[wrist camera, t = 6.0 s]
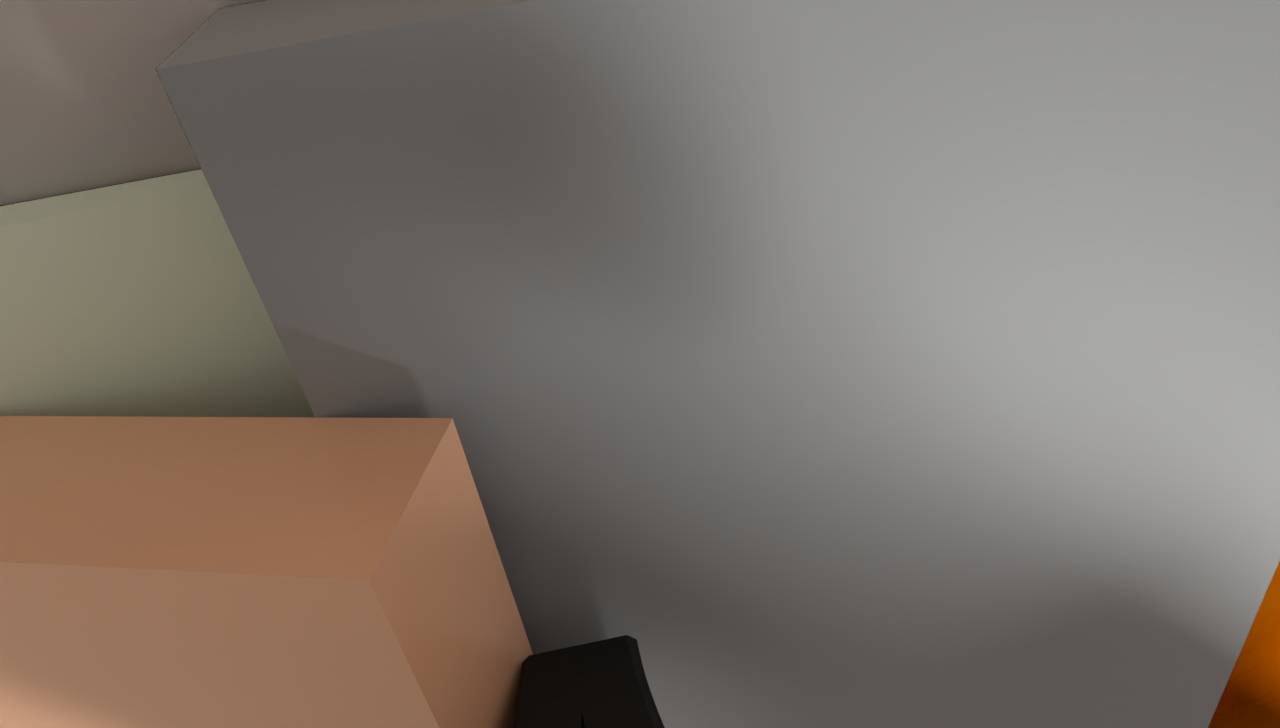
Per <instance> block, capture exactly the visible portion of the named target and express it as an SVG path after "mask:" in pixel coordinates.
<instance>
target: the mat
mask: <svg viewBox="0 0 1280 728" xmlns="http://www.w3.org/2000/svg"><path fill="white" fill-rule="evenodd" d="M0 416H117V417H315V416H314V413H313V411H312V409H311V407H310V405H309V403H308V400H307V398H306V396H305V394H304V392H303V389H302V387H301V385H300V383H299V381H298V379H297V376H296V374H295V372H294V370H293V368H292V365H291V363H290V361H289V359H288V357H287V355H286V352H285V350H284V348H283V346H282V344H281V342H280V339H279V337H278V335H277V333H276V331H275V328H274V326H273V324H272V322H271V320H270V318H269V315H268V313H267V311H266V309H265V307H264V304H263V302H262V300H261V298H260V296H259V294H258V291H257V289H256V287H255V285H254V283H253V281H252V278H251V276H250V274H249V272H248V270H247V267H246V265H245V263H244V261H243V259H242V257H241V254H240V252H239V250H238V248H237V246H236V243H235V241H234V239H233V237H232V235H231V233H230V230H229V228H228V226H227V224H226V222H225V220H224V217H223V215H222V213H221V211H220V209H219V206H218V204H217V202H216V200H215V198H214V196H213V193H212V191H211V189H210V187H209V185H208V182H207V180H206V178H205V176H204V174H203V172H202V169H199V170H194V171H189V172H183V173H178V174H172V175H167V176H162V177H156V178H151V179H146V180H140V181H135V182H129V183H124V184H119V185H113V186H108V187H102V188H97V189H92V190H86V191H81V192H75V193H70V194H65V195H59V196H54V197H49V198H43V199H38V200H32V201H27V202H22V203H16V204H11V205H5V206H0Z"/></svg>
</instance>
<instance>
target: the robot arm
mask: <svg viewBox="0 0 1280 728" xmlns="http://www.w3.org/2000/svg"><path fill="white" fill-rule="evenodd" d="M513 728H665V727H664V725H663V722H662V720H661V717H660V715H659V712H658V710H657V707H656V705H655V702H654V699H653V696H652V694H651V691H650V688H649V685H648V682H647V679H646V675H645V672H644V668H643V665H642V660H641V656H640V651H639V647H638V642H637V639H635V638H632V637H630V636H628V635H624V636H620V637H615V638H610V639H605V640H600V641H596V642H591V643H586V644H581V645H577V646H572V647H567V648H562V649H557V650H553V651H548V652H543V653H538V654H533V655H529V656H528V657H527V658H526V659H525V660H524V661H523V662H522V667H521V676H520V685H519V693H518V699H517V706H516V712H515V718H514V723H513Z"/></svg>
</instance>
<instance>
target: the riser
mask: <svg viewBox="0 0 1280 728" xmlns="http://www.w3.org/2000/svg"><path fill="white" fill-rule="evenodd" d="M156 71H157V74H158V76H159V78H160V80H161V82H162V84H163V87H164V89H165V91H166V93H167V95H168V98H169V100H170V102H171V104H172V106H173V108H174V111H175V113H176V115H177V117H178V119H179V121H180V124H181V126H182V128H183V130H184V132H185V135H186V137H187V139H188V141H189V143H190V145H191V148H192V150H193V152H194V154H195V156H196V159H197V161H198V163H199V165H200V167H201V169H202V172H203V174H204V176H205V178H206V180H207V182H208V185H209V187H210V189H211V191H212V193H213V196H214V198H215V200H216V202H217V204H218V206H219V209H220V211H221V213H222V215H223V217H224V220H225V222H226V224H227V226H228V228H229V230H230V233H231V235H232V237H233V239H234V241H235V243H236V246H237V248H238V250H239V252H240V254H241V257H242V259H243V261H244V263H245V265H246V267H247V270H248V272H249V274H250V276H251V278H252V281H253V283H254V285H255V287H256V289H257V291H258V294H259V296H260V298H261V300H262V302H263V304H264V307H265V309H266V311H267V313H268V315H269V318H270V320H271V322H272V324H273V326H274V328H275V331H276V333H277V335H278V337H279V339H280V342H281V344H282V346H283V348H284V350H285V352H286V355H287V357H288V359H289V361H290V363H291V365H292V368H293V370H294V372H295V374H296V376H297V379H298V381H299V383H300V385H301V387H302V389H303V392H304V394H305V396H306V398H307V400H308V403H309V405H310V407H311V409H312V411H313V413H314V416H315V418H317V417H330V418H453V421H454V424H455V427H456V430H457V433H458V436H459V439H460V441H461V444H462V447H463V450H464V453H465V456H466V459H467V462H468V465H469V468H470V471H471V474H472V477H473V480H474V483H475V486H476V488H477V491H478V494H479V497H480V500H481V503H482V506H483V509H484V512H485V515H486V518H487V521H488V524H489V527H490V530H491V532H492V535H493V538H494V541H495V544H496V547H497V550H498V553H499V556H500V559H501V562H502V565H503V568H504V571H505V574H506V577H507V579H508V582H509V585H510V588H511V591H512V594H513V597H514V600H515V603H516V606H517V609H518V612H519V615H520V618H521V621H522V623H523V626H524V629H525V632H526V635H527V638H528V641H529V644H530V647H531V650H532V653H533V654H538V653H543V652H548V651H553V650H557V649H562V648H567V647H572V646H577V645H581V644H586V643H591V642H596V641H600V640H605V639H610V638H615V637H620V636H624V635H628V636H630V637H632V638H635V639H637V642H638V647H639V651H640V656H641V660H642V665H643V668H644V672H645V675H646V679H647V682H648V685H649V688H650V691H651V694H652V696H653V699H654V702H655V705H656V707H657V710H658V712H659V715H660V717H661V720H662V722H663V725H664V727H665V728H1208V726H1209V724H1210V721H1211V719H1212V717H1213V714H1214V712H1215V710H1216V707H1217V705H1218V703H1219V700H1220V698H1221V696H1222V694H1223V691H1224V689H1225V687H1226V684H1227V682H1228V680H1229V677H1230V675H1231V673H1232V670H1233V668H1234V666H1235V663H1236V661H1237V659H1238V656H1239V654H1240V652H1241V649H1242V647H1243V645H1244V642H1245V640H1246V638H1247V635H1248V633H1249V631H1250V628H1251V626H1252V624H1253V621H1254V619H1255V617H1256V614H1257V612H1258V610H1259V607H1260V605H1261V603H1262V600H1263V598H1264V596H1265V593H1266V591H1267V589H1268V586H1269V584H1270V582H1271V579H1272V577H1273V575H1274V572H1275V570H1276V568H1277V565H1278V563H1279V561H1280V0H264V1H259V2H253V3H248V4H242V5H236V6H231V7H225V8H220V9H218V10H217V11H216V12H215V13H214V14H213V15H212V16H211V17H210V18H209V19H208V20H207V21H206V22H204V23H203V24H202V25H201V26H200V27H199V28H198V29H197V30H196V31H195V32H194V33H193V34H192V35H191V36H190V37H189V38H188V39H187V40H186V41H185V42H184V43H182V44H181V45H180V46H179V47H178V48H177V49H176V50H175V51H174V52H173V53H172V54H171V55H170V56H169V57H168V58H167V59H166V60H165V61H164V62H163V63H161V64H160V65H159V66H158V67H157V68H156Z"/></svg>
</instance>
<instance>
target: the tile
mask: <svg viewBox="0 0 1280 728" xmlns="http://www.w3.org/2000/svg"><path fill="white" fill-rule="evenodd" d="M529 655H533V653H532V650H531V647H530V644H529V641H528V638H527V635H526V632H525V629H524V626H523V623H522V621H521V618H520V615H519V612H518V609H517V606H516V603H515V600H514V597H513V594H512V591H511V588H510V585H509V582H508V579H507V577H506V574H505V571H504V568H503V565H502V562H501V559H500V556H499V553H498V550H497V547H496V544H495V541H494V538H493V535H492V532H491V530H490V527H489V524H488V521H487V518H486V515H485V512H484V509H483V506H482V503H481V500H480V497H479V494H478V491H477V488H476V486H475V483H474V480H473V477H472V474H471V471H470V468H469V465H468V462H467V459H466V456H465V453H464V450H463V447H462V444H461V441H460V439H459V436H458V433H457V430H456V427H455V424H454V421H453V418H330V417H317V418H315V417H117V416H0V728H513V723H514V718H515V712H516V706H517V699H518V693H519V685H520V676H521V667H522V662H523V661H524V660H525V659H526V658H527V657H528V656H529Z"/></svg>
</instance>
